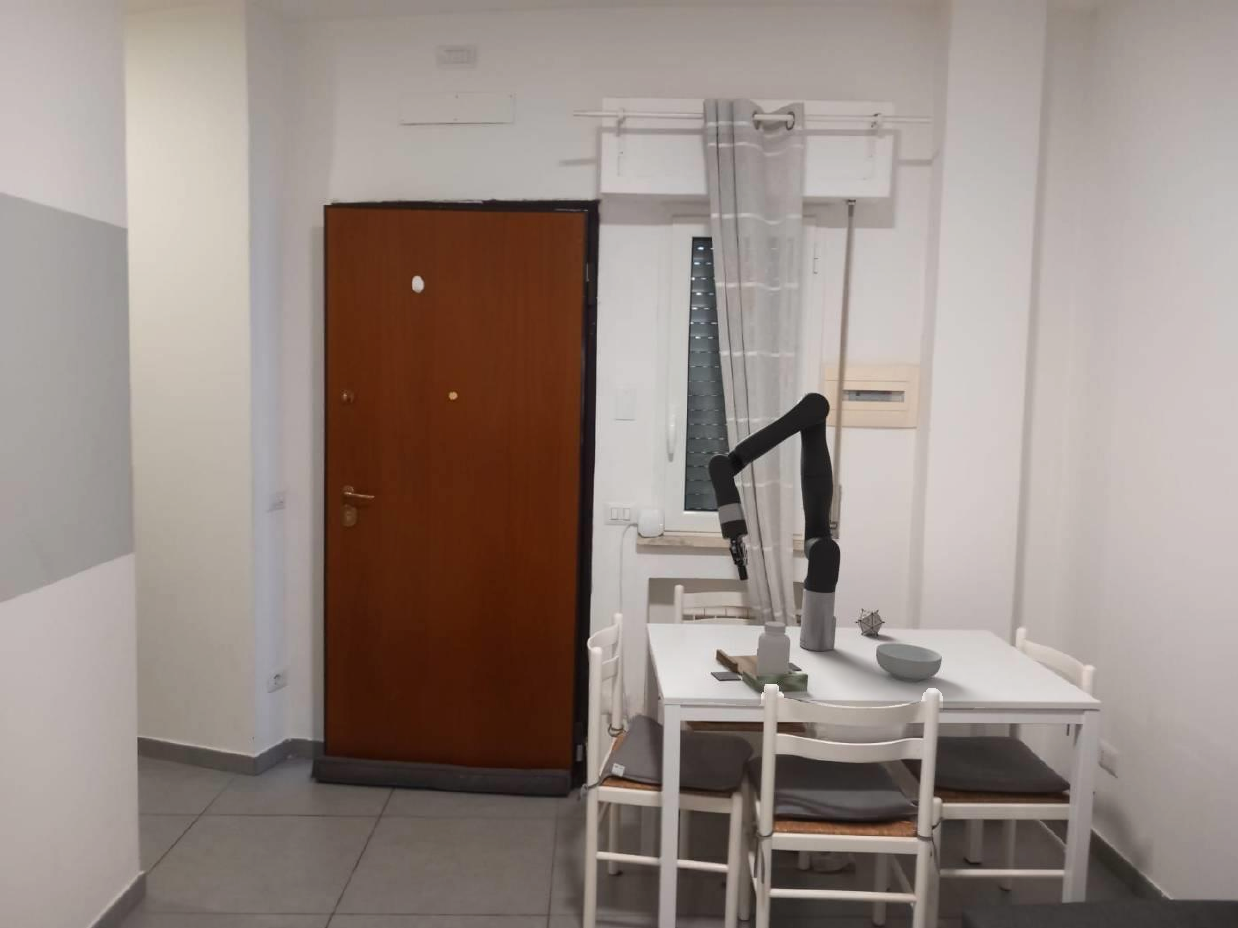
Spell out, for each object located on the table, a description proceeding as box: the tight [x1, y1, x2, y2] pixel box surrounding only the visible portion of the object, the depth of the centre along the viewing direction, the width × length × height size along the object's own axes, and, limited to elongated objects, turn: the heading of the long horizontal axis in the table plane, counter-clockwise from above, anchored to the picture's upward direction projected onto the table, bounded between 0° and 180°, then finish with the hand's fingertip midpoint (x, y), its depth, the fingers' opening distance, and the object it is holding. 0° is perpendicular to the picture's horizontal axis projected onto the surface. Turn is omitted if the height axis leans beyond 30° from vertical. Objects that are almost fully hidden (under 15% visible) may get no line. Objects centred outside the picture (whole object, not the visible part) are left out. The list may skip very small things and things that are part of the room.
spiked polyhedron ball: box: [854, 608, 886, 637], centre depth 278 cm, size 9×8×10 cm
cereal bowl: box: [875, 642, 943, 683], centre depth 235 cm, size 17×17×7 cm
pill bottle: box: [757, 621, 791, 675], centre depth 222 cm, size 8×8×15 cm
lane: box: [710, 648, 809, 694], centre depth 231 cm, size 26×28×4 cm
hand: (744, 580), depth 251 cm, fingers closed
